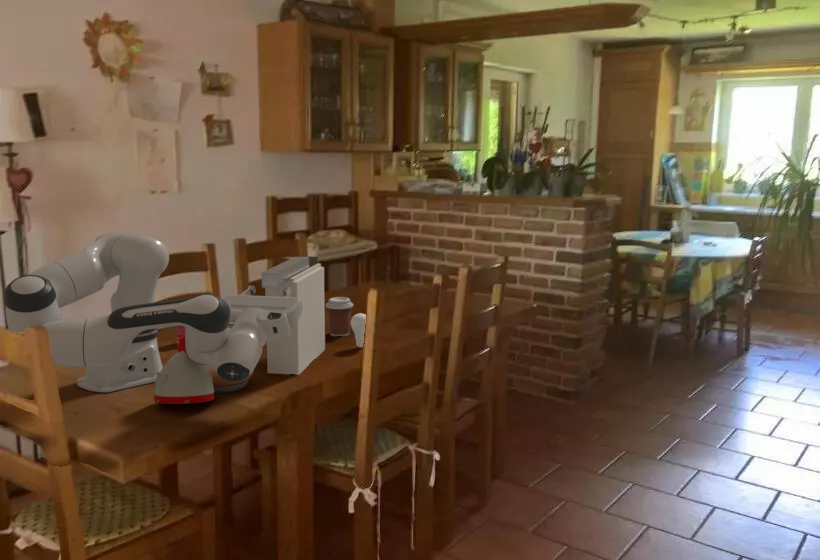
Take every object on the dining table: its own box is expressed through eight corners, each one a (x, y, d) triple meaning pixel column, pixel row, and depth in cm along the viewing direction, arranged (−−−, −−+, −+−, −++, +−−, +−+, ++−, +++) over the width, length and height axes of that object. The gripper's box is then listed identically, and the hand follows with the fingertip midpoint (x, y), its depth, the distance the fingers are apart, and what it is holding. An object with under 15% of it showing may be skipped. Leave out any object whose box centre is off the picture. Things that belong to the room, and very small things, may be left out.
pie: (221, 400, 184) (220, 380, 183) (181, 388, 193) (180, 369, 192) (266, 384, 196) (266, 366, 195) (227, 373, 205) (226, 356, 204)
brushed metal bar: (276, 288, 191) (276, 273, 190) (261, 287, 191) (261, 272, 191) (309, 270, 218) (308, 257, 217) (296, 269, 219) (295, 256, 218)
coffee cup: (325, 337, 243) (324, 302, 241) (327, 330, 252) (326, 296, 250) (352, 337, 244) (352, 302, 241) (353, 330, 253) (353, 296, 250)
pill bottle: (192, 346, 231) (191, 312, 229) (174, 345, 232) (172, 311, 230) (200, 341, 237) (198, 307, 235) (181, 340, 238) (180, 307, 236)
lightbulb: (365, 351, 228) (365, 316, 226) (347, 349, 230) (347, 314, 228) (373, 346, 234) (373, 312, 232) (355, 344, 235) (355, 310, 233)
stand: (298, 375, 204) (296, 271, 199) (267, 373, 205) (264, 270, 200) (325, 349, 230) (324, 256, 224) (297, 347, 231) (296, 255, 226)
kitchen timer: (201, 394, 189) (201, 336, 189) (223, 400, 178) (223, 337, 178) (146, 399, 180) (146, 338, 181) (165, 405, 170) (165, 340, 170)
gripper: (216, 332, 184) (234, 295, 194) (295, 337, 180) (309, 299, 191) (210, 314, 180) (229, 277, 190) (290, 318, 176) (305, 280, 186)
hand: (270, 288), depth 190 cm, fingers open, 8 cm apart
